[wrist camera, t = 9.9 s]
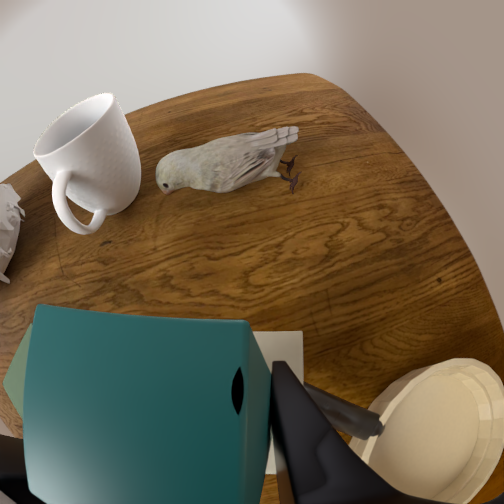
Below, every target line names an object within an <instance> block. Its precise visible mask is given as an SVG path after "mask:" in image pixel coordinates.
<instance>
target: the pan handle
mask: <svg viewBox="0 0 504 504" xmlns="http://www.w3.org/2000/svg"><path fill="white" fill-rule="evenodd" d="M303 386H304V388H305V389H306V390H307V392H308V393H309V395H310V396H311V397H312V399H313V400H314V401H315V403H316V404H317V406H318V407H319V408H320V410H321V411H322V412H323V414H324V415H325V416H326V418H327V419H328V420H329V422H330V423H331V424H332V427H334V428H335V430H338V431H340V432H343V433H345V434H348V435H350V436H353V437H356V438H358V439H361V440H367V439H368V438H369V437H370V436H372V437H373V436H377V435H378V437H377V438H379V437H380V436H381V435H382V434H383V432H384V430H385V424H384V426H383V424H382V422H381V421H379V418H380V415H379V414H378V413H375V412H373V411H370V410H368V409H365V408H363V407H360V406H358V405H355V404H353V403H351V402H348V401H346V400H344V399H341V398H339V397H337V396H334V395H332V394H330V393H328V392H326V391H323V390H321V389H319V388H317V387H315V386H313V385H311V384H308V383H306V382H304V381H303Z"/></svg>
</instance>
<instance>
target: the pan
mask: <svg viewBox="0 0 504 504" xmlns="http://www.w3.org/2000/svg"><path fill="white" fill-rule="evenodd" d="M368 410H370V411H373V412H375V413H378V414H379V415H380V418H379V421H381V422H382V424H383V426H384V424H385V430H384V432H383V434H382V435H381V436H380V437H379V438H377V437H378V435H377V436H373V437H372V436H370V437H369V438H368V439H367V440H361V439H358V438H356V437H352V439H351V442H350V444H349V447H350V448H351V449H352V450H353V451H354V452H355V453H356V454H357V455H358V456H359V457H360V458H361V459H362V460H363V461H364V462H365V463H366V464H367V465H368V466H370V467H371V468H372V469H373V470H374V471H375V472H376V473H377V474H378V475H380V476H381V477H382V478H383V479H384V480H385V481H386V482H388V483H389V484H390V485H391V486H392V487H394V488H396V489H397V490H399V491H401V492H403V493H405V494H408V495H411V496H416V497H420V498H425V499H430V500H435V501H441V502H448V503H455V504H467V503H468V502H469V501H470V500H471V499H472V498H473V497H474V496H475V495H476V494H477V493H478V492H479V490H480V489H481V488H482V487H483V486H484V484H485V483H486V482H487V480H488V479H489V477H490V475H491V474H492V472H493V470H494V469H495V467H496V465H497V463H498V461H499V459H500V456H501V454H502V451H503V448H504V386H503V384H502V381H501V379H500V377H499V376H498V375H497V374H496V373H495V372H494V371H493V370H492V369H491V367H490V366H488V365H486V364H484V363H482V362H480V361H478V360H476V359H473V358H453V359H450V360H446V361H443V362H440V363H436V364H433V365H430V366H426V367H423V368H420V369H416V370H413V371H411V372H409V373H407V374H406V375H404V376H403V377H401V378H399V379H398V380H396V381H394V382H393V383H391V384H390V385H389V386H388V387H387V388H386V389H385V390H384V391H383V392H382V393H381V394H380V395H379V396H378V397H377V398H376V399H375V400H374V401H373V402H372V404H371V405H370V407H369V408H368Z"/></svg>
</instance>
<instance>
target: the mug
mask: <svg viewBox="0 0 504 504" xmlns="http://www.w3.org/2000/svg"><path fill="white" fill-rule="evenodd" d="M33 153H34V156H35V157H36V159H37V160H38V162H39V163H40V165H41V166H42V168H43V169H44V171H45V172H46V174H47V175H48V176H49V177H50V179H51V180H52V181H53V187H52V198H53V204H54V207H55V210H56V212H57V214H58V216H59V218H60V219H61V221H62V222H63V223H64V224H65V225H66V226H67V227H68V228H69V229H70V230H72V231H74V232H76V233H78V234H91V233H93V232H95V231H97V230H98V229H99V228H100V226H101V225H102V223H103V222H104V219H105V217H106V215H113V214H116V213H118V212H120V211H122V210H124V209H125V208H126V207H128V206H129V205H130V204H131V203H132V202H133V200H134V199H135V197H136V196H137V194H138V191H139V187H140V182H141V164H140V158H139V153H138V149H137V146H136V143H135V140H134V137H133V134H132V133H131V129H130V127H129V125H128V123H127V120H126V119H125V116H124V114H123V111H122V110H121V108H120V106H119V104H118V101H117V99H116V97H115V96H114V95H113V94H112V93H101V94H97V95H94V96H92V97H89V98H87V99H85V100H83V101H81V102H79V103H77V104H76V105H74V106H72V107H71V108H69V109H68V110H66V112H64V113H62V114H61V115H60V116H59V117H58V118H57V119H55V120H54V121H53V122H52V123H51V124H50V125H49V126H48V127H47V128H46V129H45V131H44V132H43V133H42V134H41V136H40V137H39V139H38V140H37V142H36V144H35V146H34V150H33ZM66 196H68V198H70V199H71V200H72V201H73V202H75V203H76V204H77V205H79V206H81V207H82V208H84V209H86V210H88V211H90V212H93V213H94V216H93V219H92V221H91V223H90V224H89V225H88V226H86V225H83V224H82V223H80V222H79V221H78V220H77V219H76V218H75V216H74V215H73V214H72V212H71V210H70V208H69V206H68V204H67V200H66Z"/></svg>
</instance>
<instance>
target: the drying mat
mask: <svg viewBox="0 0 504 504" xmlns="http://www.w3.org/2000/svg"><path fill="white" fill-rule="evenodd" d="M32 325H33V324H32V323H31V324H30V326H29V328H28V330H27V331H26V333H25V335H24V337H23V339H22V341H21V343H20V345H19V347H18V349H17V351H16V353H15V356H14V358H13V360H12V362H11V364H10V367H9V369H8V371H7V374H6V376H5V378H4V381H3V383H2V384H3V386H4V388H5V390H6V392H7V394H8V396H9V397H10V399H11V401H12V403H13V405H14V406H15V408H16V410H17V411H18V413H19V415H20V416H21V418H22V419H23V394H24V380H25V370H26V361H27V354H28V347H29V341H30V335H31V330H32Z"/></svg>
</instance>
